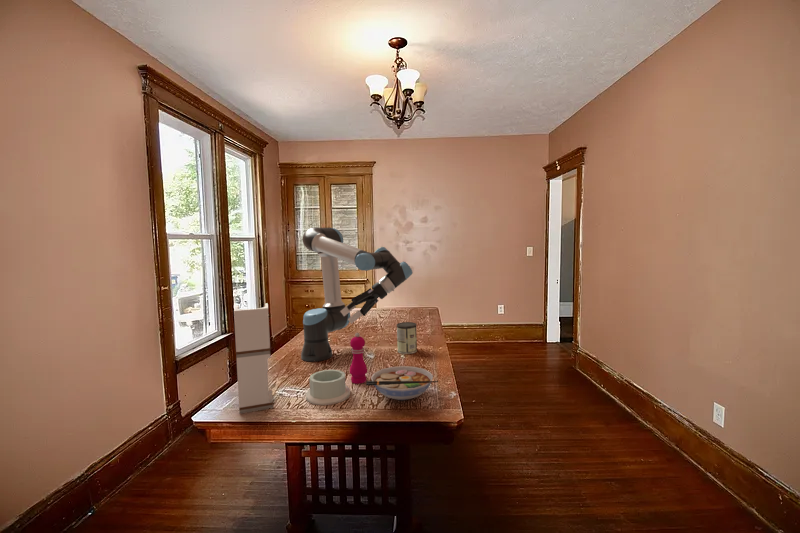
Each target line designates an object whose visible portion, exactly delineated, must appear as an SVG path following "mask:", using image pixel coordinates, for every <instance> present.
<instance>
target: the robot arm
mask: <svg viewBox="0 0 800 533" xmlns="http://www.w3.org/2000/svg"><path fill="white" fill-rule="evenodd" d="M302 244H303V246H304V247H305V248H306V249H307V250H309V251H312V252H314V253H317V255H318V256H319V257H320V261H321V262H320V264H321V273H322V284H323V294H324V296H323V297H324V304H323V305H322V307H321V308H319V307H318V308H312V309H309V310H307V311H306V312H305V313H304V314H303V318H302V319H303V320H302V324H303V339H304V340H303V342H304V343H303V346H302V349H301V354H300V358H301V360H302V361H305V362H321V361H325V360H329V359H331V358H332V357H333V350H332V347H331V344H330V342H329V333H332V332H335V331H340V330H343V329H344V328H346V327H347V326H348V325H349V323H350V324H351V325H352V324H354V322H356V321H357V320H358V319H360V318H361V317H362V316H363V317H364V316H366V315H367V314H368V313H369V311H371V309H372V308H373V307H374V306H375V305H376V304H378V302H379V299H380V300H383V299H384V298H385V297H387V296H388V294H390V293H392V292H395V289H397V288H398V287H399V286H400V285H402V284H403V283H404V282H406V280H408V279H409V278H410V277H411V276H412V275H413V269H412V268H411V266H410V264H408V263H407V262H406V261H402V262H401V261H400V262H399V261H398V260H397V258H396V257H395V256H394V255H393V254H392V253H391V251H390V250H388V249H387V248H386V247H385V246H380V247H378V248H377V249H376V250H375V251H374V252H370V251H366V250H364V249H361V248H358V247H355V246H352V245H349V244H347V243H344V237H343V234H342V232H341V231H340V230H338V229H337V228H335V227H310V228H308V229H307V230H306V231H304V233H303V235H302ZM339 260H340V261H343V262H346V263H349V264H352V265H354V266H355V267H356V268H357V269H358V270H359V271H365V272H367V271H372V270H379V269H381V270H382V269H383V271H384V272H385V273H386V274H385V275H384V276H383V277H381V278H380V279H379V280H378V282H375V283H374V284H373V285H372V286H371V288H368V289H367V290H365V291H363V292H362V293H360V294H358V295H356V296H354V297H353V298H351V299H350V301H351V302H350V303H348V304H347V305H346V303H344V302H343V300H342V294H341V293H342V291H341V282H340V281H341V280H340V271H339ZM361 304H363V305H362V307H361V308H360V309H359V310H357V311H356V312H355V313H354V314H352V315H351V312H352V311H353V310H354V309H355V308H356V307H357V306H358V305H361Z"/></svg>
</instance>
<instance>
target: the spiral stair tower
mask: <svg viewBox="0 0 800 533" xmlns="http://www.w3.org/2000/svg"><path fill="white" fill-rule="evenodd" d="M264 304H265V306H263V307H262V306H261V307H259V308H257V307H256V308H249V309H247V308H246V309H245V308H243V309H240V305H235V308H234V310H233V317H234V318H233V319H234V320H233V321H234V335H235V339H234V340H235V356H236V374H237V391H238V409H239V413H238V414H240V413H241V414H245V413H246V412H247V413H252V411H253V412H257V411H258V410H259V411H263V410H269V408H270V409H273V408H274V403H273V402H274V401H273V390H272V389H269V377H268V376H269V374H268V372H269V359H270V358H271V357H272V356H271V341H270V337H271V336H270V325H269V324H270V322H269V321H270V319H269V318H270V317H269V304H268V302H267V303H264ZM259 411H258V412H259Z"/></svg>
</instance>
